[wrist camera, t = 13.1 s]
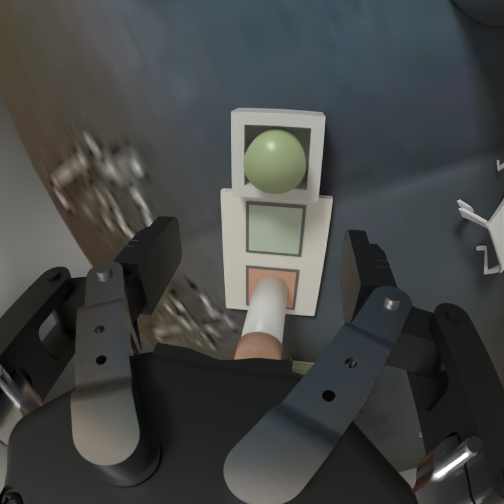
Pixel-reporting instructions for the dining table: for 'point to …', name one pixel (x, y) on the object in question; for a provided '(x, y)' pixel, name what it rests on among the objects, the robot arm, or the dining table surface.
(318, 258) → the colouring board
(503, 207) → the origami figure
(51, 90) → the dining table surface
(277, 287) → the marker
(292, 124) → the button housing
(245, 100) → the dining table surface
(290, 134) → the button
